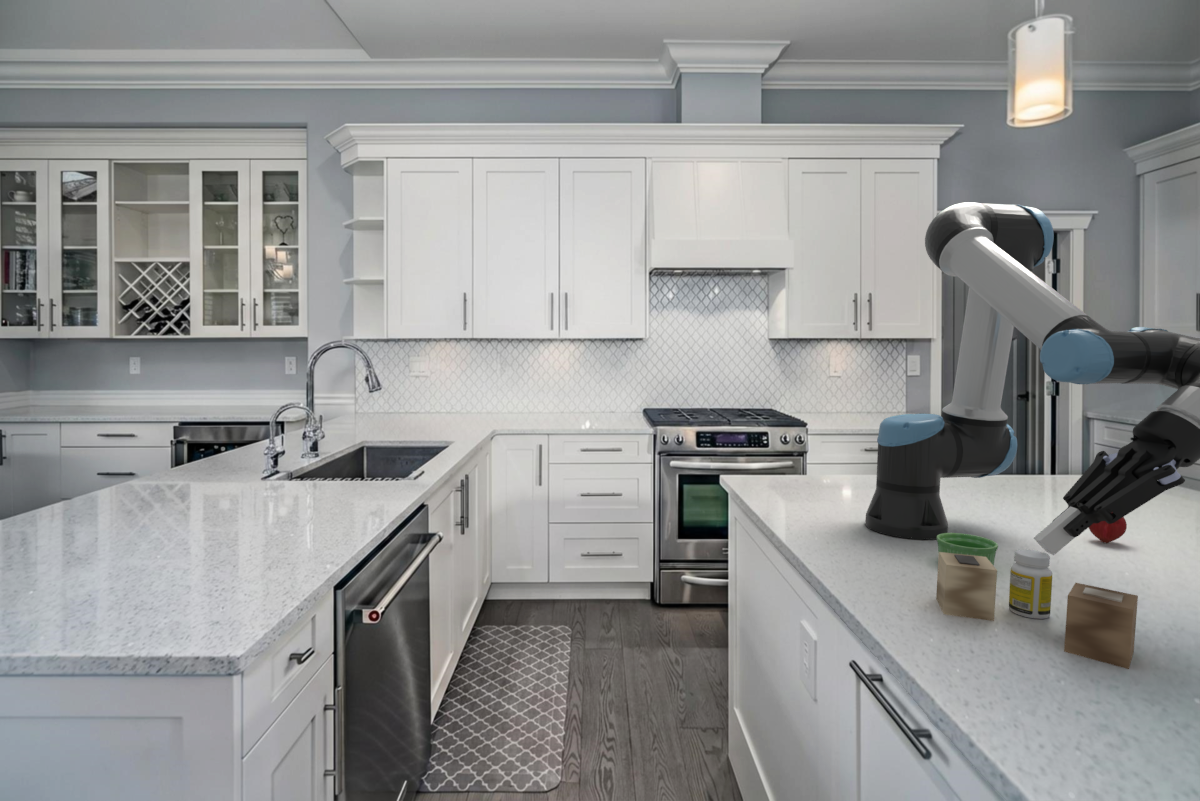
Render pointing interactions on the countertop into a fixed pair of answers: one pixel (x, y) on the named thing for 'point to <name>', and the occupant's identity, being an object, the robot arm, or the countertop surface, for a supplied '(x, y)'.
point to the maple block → (966, 586)
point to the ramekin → (967, 545)
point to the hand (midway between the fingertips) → (1043, 546)
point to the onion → (1108, 530)
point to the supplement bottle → (1030, 584)
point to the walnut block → (1101, 624)
